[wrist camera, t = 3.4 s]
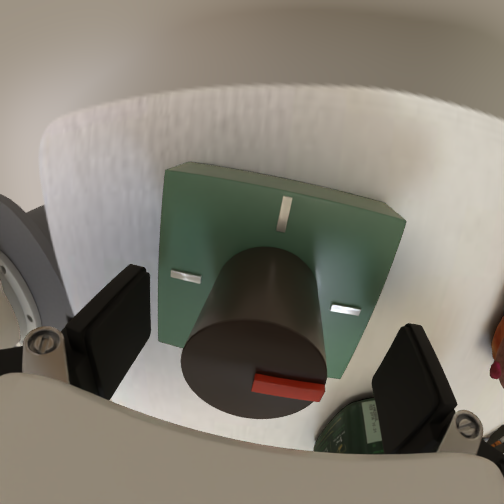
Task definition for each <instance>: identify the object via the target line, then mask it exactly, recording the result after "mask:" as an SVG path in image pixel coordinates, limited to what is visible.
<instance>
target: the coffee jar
mask: <svg viewBox="0 0 504 504" xmlns="http://www.w3.org/2000/svg"><path fill="white" fill-rule="evenodd" d="M314 452H325V453H339V454H367V455H383V454H384V451H383V444H382V438H381V432H380V426H379V420H378V414H377V409H376V403H375V398H371V399H365V400H361V401H358V402H353V403H351V404H349V405H348V406H346V407H345V408H344V409H342V410H341V411H340V412H339V413H338V414H337V415H336V416H335V417H334V418H333V420H332V421H331V422H330V423H329V424H328V425H327V427H326V428H325V429H324V431H323V432H322V433H321V435H320V436H319V438H318V440H317V442H316V444H315V446H314Z"/></svg>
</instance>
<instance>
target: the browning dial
mask: <svg viewBox="0 0 504 504" xmlns="http://www.w3.org/2000/svg"><path fill="white" fill-rule="evenodd" d="M181 368H182V372H183V375H184V378H185V380H186V382H187V383H188V385H189V386H190V388H191V389H192V390H193V391H194V392H195V393H196V394H197V395H198V396H199V397H200V398H201V399H202V400H204V401H205V402H206V403H208V404H209V405H211V406H213V407H215V408H217V409H219V410H221V411H223V412H226V413H229V414H232V415H235V416H239V417H244V418H252V419H271V418H279V417H284V416H287V415H291V414H293V413H296V412H298V411H300V410H302V409H304V408H306V407H307V406H309V405H310V404H311V403H312V402H314V401H315V402H320V400H321V398H322V396H323V394H324V392H325V384H326V380H327V363H326V353H325V344H324V335H323V327H322V318H321V310H320V303H319V295H318V288H317V283H316V280H315V277H314V275H313V273H312V271H311V269H310V268H309V267H308V266H307V264H306V263H305V262H304V261H303V260H301V259H300V258H299V257H297V256H296V255H294V254H293V253H291V252H288V251H286V250H283V249H280V248H275V247H263V246H262V247H254V248H250V249H247V250H244V251H241V252H239V253H238V254H236V255H234V256H233V257H232V258H230V259H229V260H228V261H227V262H226V263H225V265H224V266H223V267H222V269H221V271H220V273H219V275H218V277H217V279H216V281H215V283H214V285H213V287H212V289H211V291H210V293H209V295H208V297H207V299H206V302H205V304H204V306H203V308H202V310H201V312H200V314H199V316H198V318H197V320H196V322H195V324H194V327H193V329H192V331H191V333H190V335H189V337H188V339H187V341H186V343H185V346H184V348H183V351H182V354H181Z"/></svg>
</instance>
